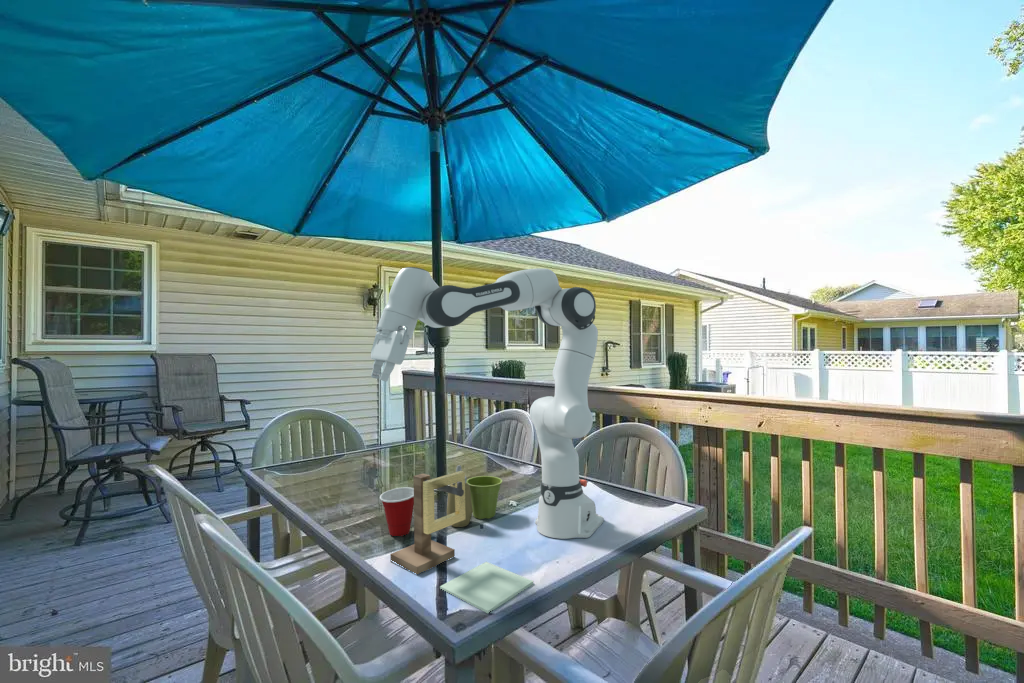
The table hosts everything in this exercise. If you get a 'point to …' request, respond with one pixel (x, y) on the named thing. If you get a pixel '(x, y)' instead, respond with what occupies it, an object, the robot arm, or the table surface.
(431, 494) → the yellow picture frame
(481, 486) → the plant pot
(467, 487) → the squeeze bottle
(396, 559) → the hook stand
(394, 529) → the plastic cup
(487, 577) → the sage mat
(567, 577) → the table surface
